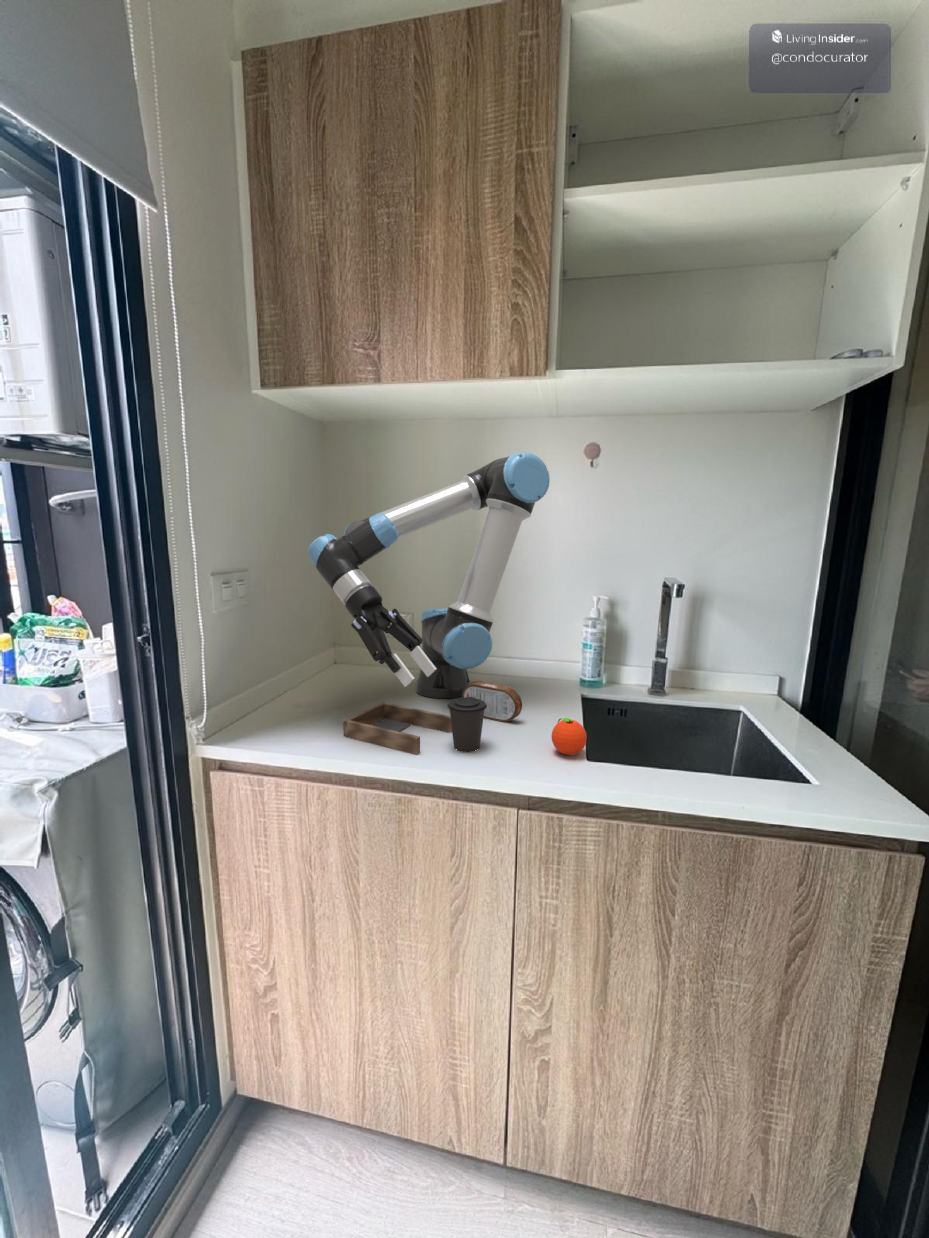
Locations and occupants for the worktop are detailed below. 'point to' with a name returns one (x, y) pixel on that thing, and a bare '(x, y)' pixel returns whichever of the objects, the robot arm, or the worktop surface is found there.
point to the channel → (366, 732)
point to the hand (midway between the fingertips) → (421, 677)
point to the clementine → (568, 736)
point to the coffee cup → (466, 722)
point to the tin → (495, 700)
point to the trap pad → (393, 725)
